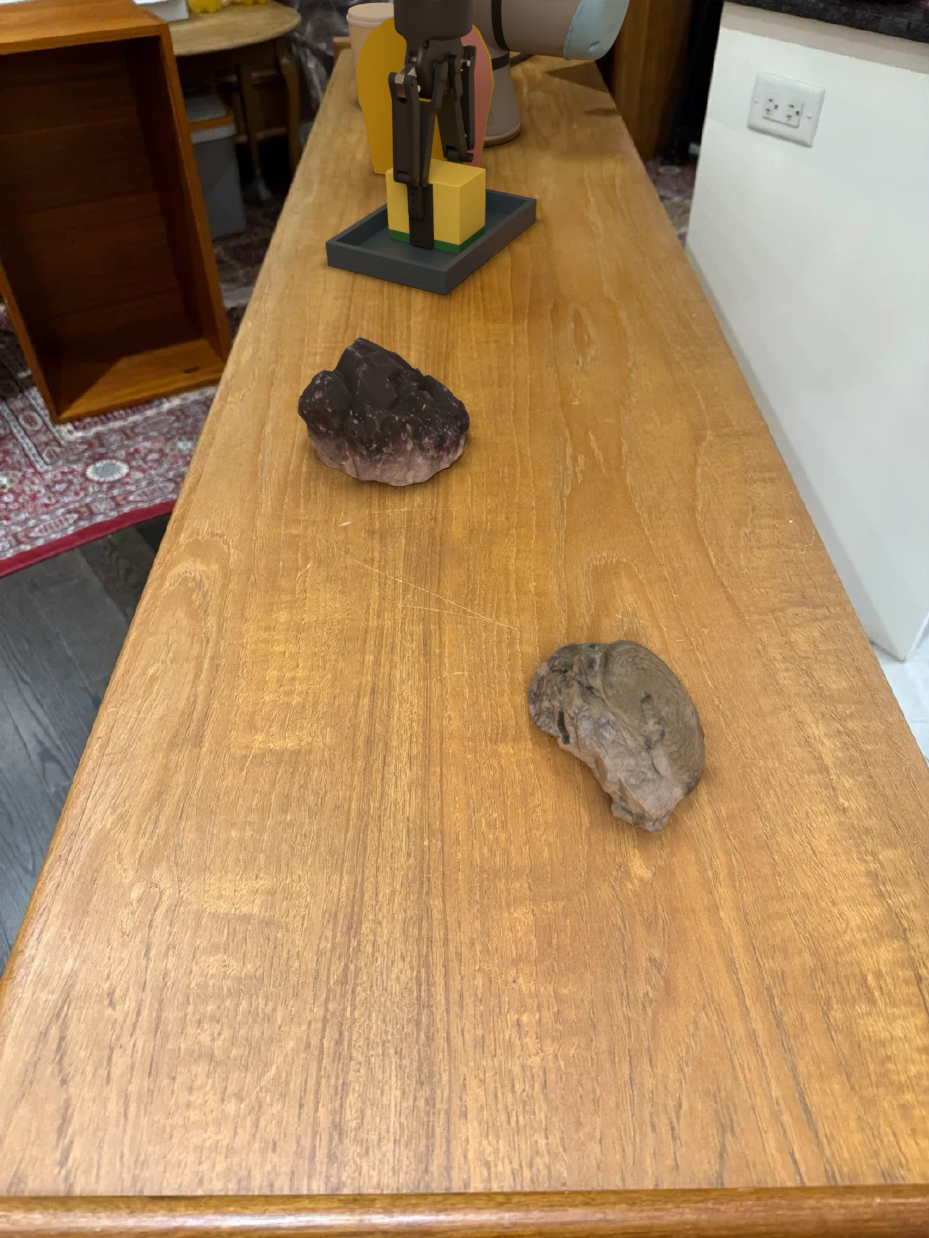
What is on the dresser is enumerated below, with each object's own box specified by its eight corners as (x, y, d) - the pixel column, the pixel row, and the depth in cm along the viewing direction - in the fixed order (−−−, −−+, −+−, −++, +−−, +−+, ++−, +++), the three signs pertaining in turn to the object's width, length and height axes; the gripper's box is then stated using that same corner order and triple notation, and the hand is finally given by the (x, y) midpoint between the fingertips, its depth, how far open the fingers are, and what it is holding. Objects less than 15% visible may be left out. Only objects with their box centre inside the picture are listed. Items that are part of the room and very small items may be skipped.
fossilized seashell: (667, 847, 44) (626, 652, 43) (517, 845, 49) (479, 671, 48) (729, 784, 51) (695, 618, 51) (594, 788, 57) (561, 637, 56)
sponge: (416, 219, 102) (413, 154, 97) (484, 235, 99) (486, 168, 94) (388, 238, 98) (384, 172, 93) (459, 254, 95) (459, 187, 90)
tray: (428, 198, 108) (427, 176, 106) (535, 221, 103) (537, 199, 101) (327, 265, 94) (324, 242, 93) (445, 295, 90) (445, 271, 88)
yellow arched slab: (493, 169, 114) (498, 0, 101) (464, 190, 109) (465, 15, 96) (395, 151, 119) (387, -13, 106) (363, 170, 114) (350, 1, 101)
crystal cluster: (450, 397, 77) (437, 286, 71) (493, 475, 68) (483, 354, 61) (301, 430, 76) (273, 318, 69) (323, 515, 66) (293, 394, 59)
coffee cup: (406, 115, 130) (402, 19, 121) (345, 111, 131) (337, 15, 123) (421, 96, 136) (418, 4, 128) (363, 93, 138) (356, 1, 129)
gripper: (415, 8, 75) (423, 274, 91) (513, -30, 86) (505, 212, 103) (341, -2, 77) (362, 259, 94) (447, -38, 89) (449, 200, 105)
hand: (437, 234), depth 98 cm, fingers closed on sponge, 6 cm apart
